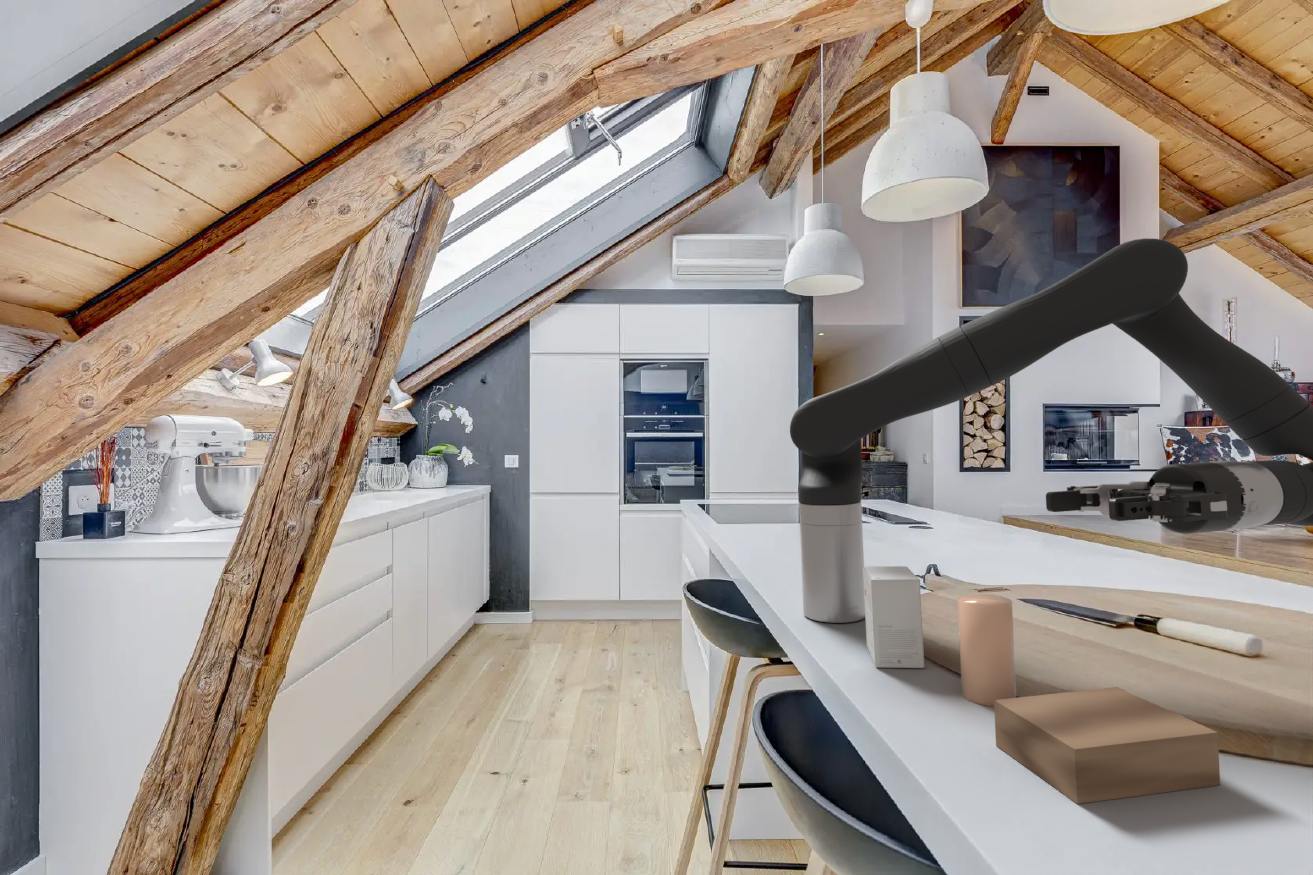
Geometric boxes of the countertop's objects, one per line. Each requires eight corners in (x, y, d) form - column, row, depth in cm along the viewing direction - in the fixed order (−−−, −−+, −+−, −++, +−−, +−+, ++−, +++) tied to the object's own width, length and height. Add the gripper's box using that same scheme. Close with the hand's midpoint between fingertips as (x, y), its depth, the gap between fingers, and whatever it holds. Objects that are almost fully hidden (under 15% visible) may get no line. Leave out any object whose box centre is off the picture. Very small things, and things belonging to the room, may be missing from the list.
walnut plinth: (996, 745, 56) (993, 699, 56) (1118, 731, 57) (1116, 686, 57) (1077, 803, 47) (1074, 749, 47) (1220, 784, 48) (1217, 732, 48)
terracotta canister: (951, 689, 68) (947, 595, 68) (995, 684, 69) (990, 592, 69) (981, 708, 63) (977, 607, 63) (1028, 703, 64) (1023, 603, 64)
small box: (925, 670, 74) (921, 579, 74) (874, 668, 75) (870, 579, 75) (911, 647, 82) (908, 565, 82) (866, 646, 83) (862, 565, 83)
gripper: (1151, 460, 76) (1028, 468, 74) (1282, 463, 62) (1135, 473, 60) (1155, 522, 76) (1031, 532, 74) (1287, 540, 62) (1139, 552, 60)
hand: (1078, 505), depth 67 cm, fingers open, 8 cm apart
